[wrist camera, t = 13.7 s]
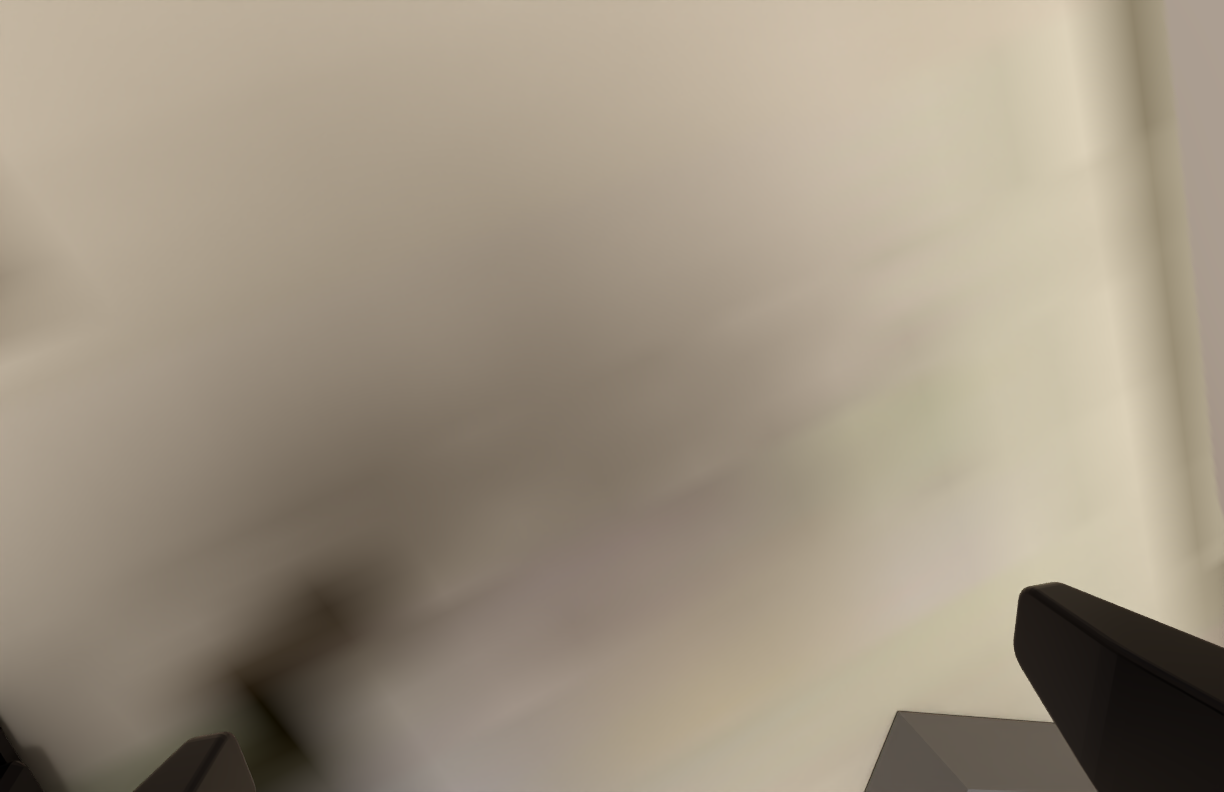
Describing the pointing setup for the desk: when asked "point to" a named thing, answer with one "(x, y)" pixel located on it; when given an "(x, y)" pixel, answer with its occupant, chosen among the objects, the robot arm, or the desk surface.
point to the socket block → (975, 757)
